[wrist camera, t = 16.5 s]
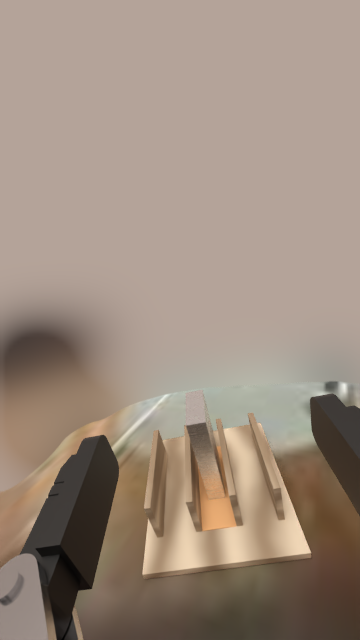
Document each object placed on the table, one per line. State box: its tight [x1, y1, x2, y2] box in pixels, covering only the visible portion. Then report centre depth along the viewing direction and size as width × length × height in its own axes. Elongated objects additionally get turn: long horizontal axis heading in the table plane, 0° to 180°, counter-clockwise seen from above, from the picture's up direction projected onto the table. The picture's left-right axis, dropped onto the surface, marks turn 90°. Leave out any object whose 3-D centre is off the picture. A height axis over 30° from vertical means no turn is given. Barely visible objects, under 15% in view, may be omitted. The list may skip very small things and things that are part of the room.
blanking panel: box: [186, 390, 226, 500], centre depth 35 cm, size 2×6×14 cm, turn 1°
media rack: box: [142, 413, 311, 579], centre depth 36 cm, size 19×19×7 cm
